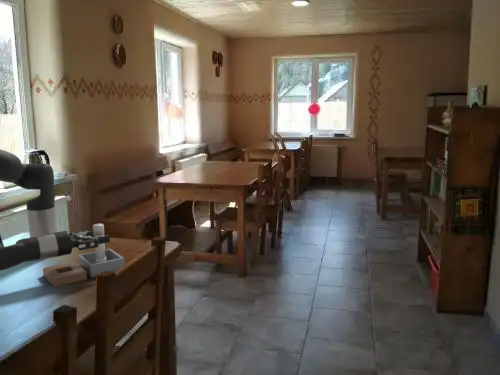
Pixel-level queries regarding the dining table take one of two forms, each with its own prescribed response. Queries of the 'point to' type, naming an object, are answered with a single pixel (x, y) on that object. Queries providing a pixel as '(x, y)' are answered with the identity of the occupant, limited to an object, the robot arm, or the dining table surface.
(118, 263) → the parts tray
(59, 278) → the block
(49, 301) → the dining table surface
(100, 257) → the fuse
